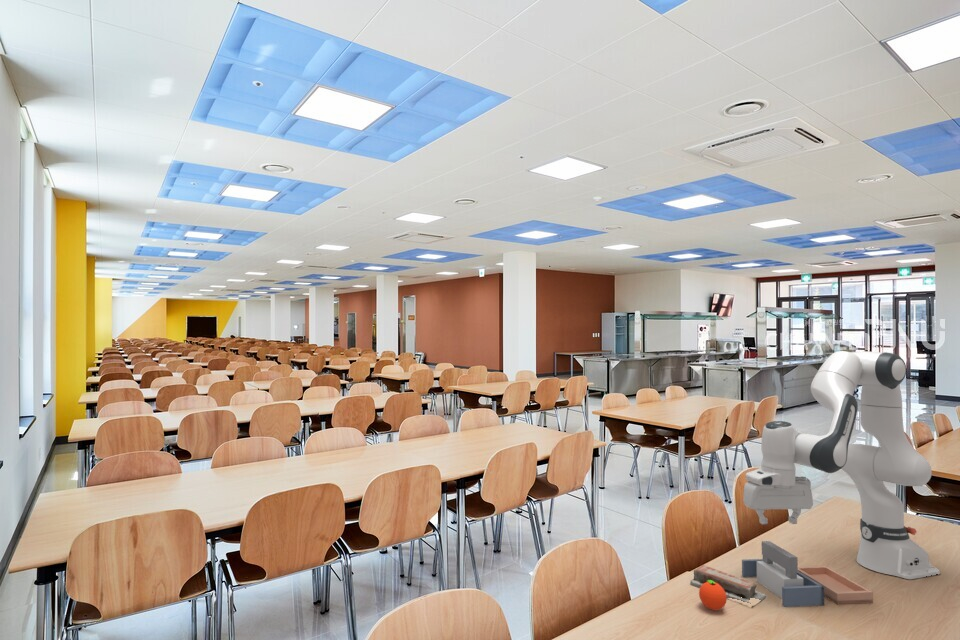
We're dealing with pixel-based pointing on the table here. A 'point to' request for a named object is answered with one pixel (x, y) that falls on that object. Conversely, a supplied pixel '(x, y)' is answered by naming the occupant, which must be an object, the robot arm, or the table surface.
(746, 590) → the packaged product
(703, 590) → the clementine
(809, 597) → the slate bay
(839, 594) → the terracotta tray
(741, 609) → the table surface
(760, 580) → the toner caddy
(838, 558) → the table surface
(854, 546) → the table surface
